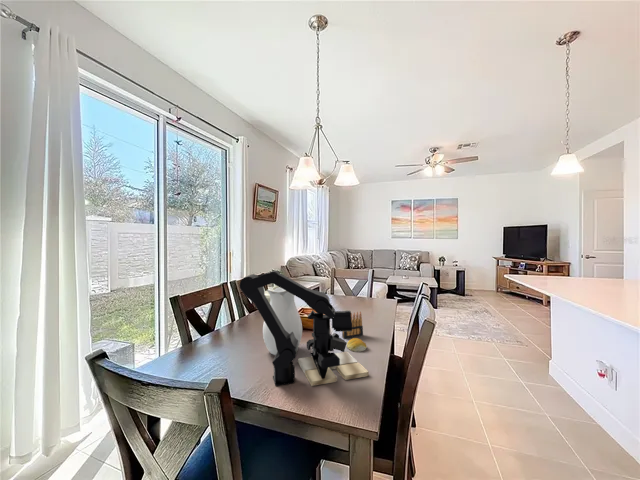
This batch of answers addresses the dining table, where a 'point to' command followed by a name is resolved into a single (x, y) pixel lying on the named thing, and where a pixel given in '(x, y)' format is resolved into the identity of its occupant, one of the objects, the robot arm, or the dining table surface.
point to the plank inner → (316, 378)
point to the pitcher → (283, 317)
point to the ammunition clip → (354, 327)
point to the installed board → (344, 359)
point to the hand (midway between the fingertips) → (322, 377)
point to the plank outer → (352, 371)
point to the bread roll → (356, 345)
